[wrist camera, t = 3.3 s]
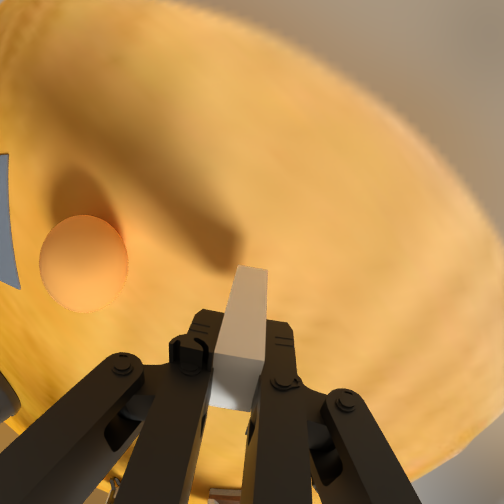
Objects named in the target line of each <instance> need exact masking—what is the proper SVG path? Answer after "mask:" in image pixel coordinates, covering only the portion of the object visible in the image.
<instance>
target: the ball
mask: <svg viewBox="0 0 504 504" xmlns="http://www.w3.org/2000/svg"><path fill="white" fill-rule="evenodd" d="M39 268H40V274H41V278H42V281H43V284H44V286H45V288H46V290H47V292H48V293H49V295H50V296H51V297H52V298H53V299H54V300H55V301H56V302H57V303H58V304H60V305H61V306H63V307H64V308H66V309H68V310H71V311H74V312H80V313H89V312H95V311H98V310H100V309H103V308H105V307H106V306H108V305H109V304H110V303H112V302H113V301H114V300H115V299H116V298H117V296H118V295H119V294H120V292H121V291H122V288H123V286H124V284H125V282H126V278H127V274H128V255H127V251H126V248H125V245H124V242H123V240H122V238H121V237H120V235H119V234H118V232H117V231H116V230H115V229H114V228H113V227H112V226H111V225H110V224H109V223H107V222H106V221H104V220H102V219H100V218H97V217H95V216H90V215H76V216H72V217H69V218H66V219H65V220H63V221H61V222H59V223H58V224H57V225H56V226H55V227H54V228H53V229H52V230H51V231H50V232H49V234H48V235H47V237H46V239H45V241H44V242H43V245H42V248H41V252H40V260H39Z"/></svg>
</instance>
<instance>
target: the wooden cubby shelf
mask: <svg viewBox="0 0 504 504" xmlns="http://www.w3.org/2000/svg"><path fill="white" fill-rule="evenodd" d="M240 498H241V490H228V489H213V488H210V493H209V499H208V504H240Z"/></svg>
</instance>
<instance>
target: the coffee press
mask: <svg viewBox="0 0 504 504" xmlns="http://www.w3.org/2000/svg"><path fill="white" fill-rule="evenodd" d="M114 479H115V480H116V482H117V484H118V486H120V481H119V479H118V478H113V477H112V478H110V483H111V487H112V489H111V490H110V493H109V495H108V498H107V500H106V503H105V504H113V503H114V500H115V497H116V494H117V492H118V489H119V487H115V484H114Z"/></svg>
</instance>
